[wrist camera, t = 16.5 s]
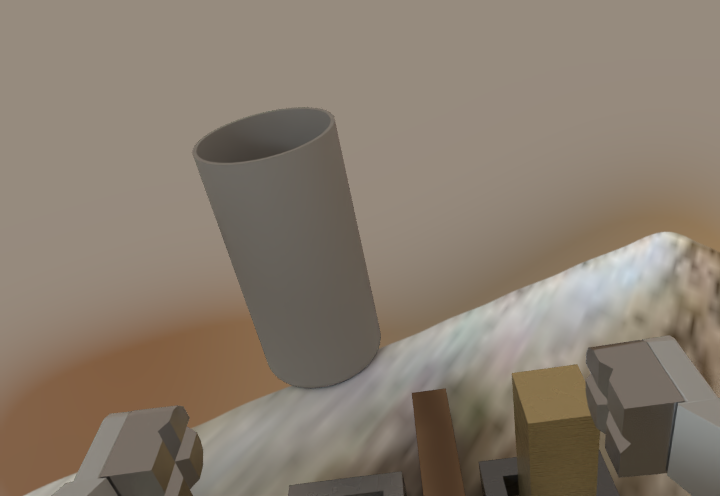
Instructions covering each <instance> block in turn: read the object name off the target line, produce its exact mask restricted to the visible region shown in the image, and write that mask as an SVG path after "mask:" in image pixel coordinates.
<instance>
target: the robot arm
mask: <svg viewBox="0 0 720 496" xmlns="http://www.w3.org/2000/svg"><path fill="white" fill-rule="evenodd" d="M586 364H587V366H588V368H589V370H590V372H591V374H590V375H589V376H588V377H587V379H586V380H585V382H586V398H587V403H588V408H589V411H590V414H591V417H592V419H593V422H594V424H595V426H596V428H597V429H598V430H600V431H601V432H603V433H604V434H606V437H605V448H606V451H607V453H608V455H609V457H610V459H611V461H612V463H613V466H614V468H615V470H616V472H617V474H618V476H619V477H629V476H640V475H651V474H662V473H667V476H669V477H670V478H671V479H672V480H674V481H675V482H676V483H677V484H679V485H680V486H681V487H682V488H683V489H685V490H686V491H687V492H688V493H690V494H691V495H692V496H720V398H718V397H717V395H716V394H715V393H714V391H713V390H712V388H711V387H710V386H709V384H708V383H707V382H706V380H705V379H704V378H703V376H702V375H701V374H700V372H699V371H698V369H697V368H696V367H695V365H694V364H693V363H692V361H691V360H690V359H689V357H688V356H687V355H686V353H685V352H684V350H683V349H682V348H681V346H680V345H679V344H678V342H677V341H676V340H675V338H673V337H671V336H670V335H668V336H661V337H655V338H648V339H642V340H636V341H629V342H623V343H616V344H609V345H603V346H596V347H589V348H588V350H587V353H586ZM188 421H189V416H188V414H187V412H186V410H185V409H184V407H183V406H170V407H161V408H153V409H144V410H135V411H131V412H122V413H113V414H109V416H107V417H106V418H105V419H104V420H103V422H102V424H101V426H100V428H99V430H98V432H97V434H96V436H95V438H94V441H93V442H92V445H91V447H90V448H89V451H88V453H87V455H86V457H85V459H84V461H83V463H82V465H81V467H80V469H79V471H78V473H77V475H76V477H75V479H74V481H73V482H69V483H65V484H64V485H63V486H62V487H61V488H60V489H59V490H57V491H56V492H55V493H54V494H53V495H52V496H193V495H192V493H191V491H190V489H191V488H192V486H193V485H194V484H195V483H196V482H197V481H198V480H199V479H200V475H201V471H202V467H203V449H202V444H201V440H200V438H199V436H198V434H197V432H195V431H194V430H192V429H190V428H189V427H187V424H188Z"/></svg>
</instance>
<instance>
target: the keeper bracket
mask: <svg viewBox="0 0 720 496" xmlns="http://www.w3.org/2000/svg"><path fill="white" fill-rule="evenodd" d="M479 468H480V477H481V484H482V489H483V493H484V496H516V495H519V485H518V468H517V457H514V458H505V459H497V460H489V461H481V462H479ZM596 496H620V495H619V493H618V491H617V489H616V486H615V484H614V482H613V480H612V477H611V475H610V473H609V471H608V468H607V466H606V464H605V461H604V459H603V457H602V455H601V452H600V450H599V454H598V473H597V492H596Z"/></svg>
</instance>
